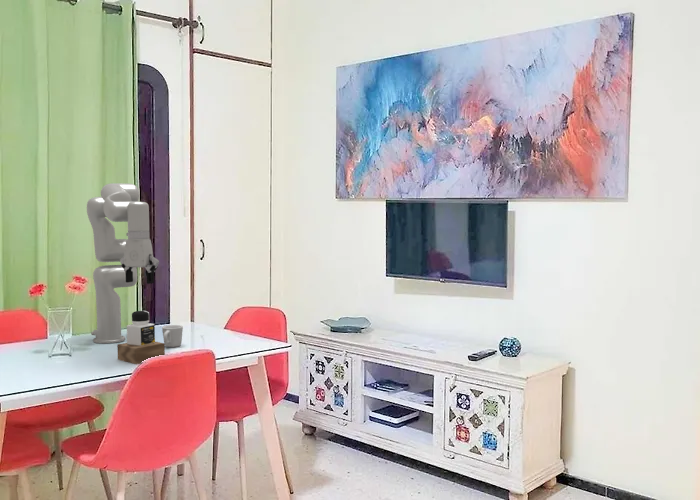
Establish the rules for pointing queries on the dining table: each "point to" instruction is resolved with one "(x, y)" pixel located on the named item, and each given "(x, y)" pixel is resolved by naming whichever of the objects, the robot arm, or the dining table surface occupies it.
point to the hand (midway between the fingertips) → (139, 282)
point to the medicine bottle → (140, 329)
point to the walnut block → (139, 352)
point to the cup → (172, 335)
